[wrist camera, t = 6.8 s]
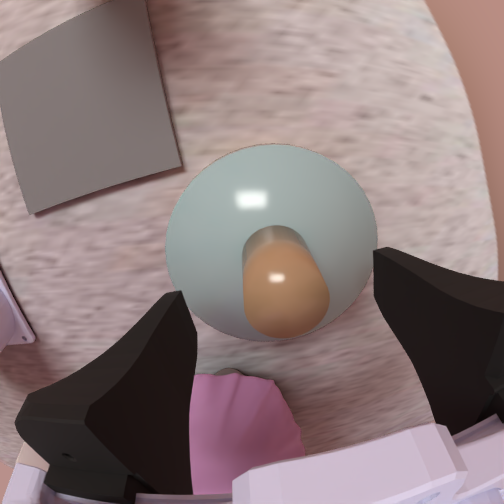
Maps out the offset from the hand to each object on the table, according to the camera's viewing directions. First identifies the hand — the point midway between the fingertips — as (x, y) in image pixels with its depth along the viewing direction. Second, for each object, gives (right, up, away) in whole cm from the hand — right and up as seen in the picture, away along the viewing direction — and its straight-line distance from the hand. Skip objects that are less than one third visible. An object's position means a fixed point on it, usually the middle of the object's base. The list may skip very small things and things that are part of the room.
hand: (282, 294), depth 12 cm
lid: (0, +2, +3) cm, 3 cm away
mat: (-11, +9, +2) cm, 14 cm away
